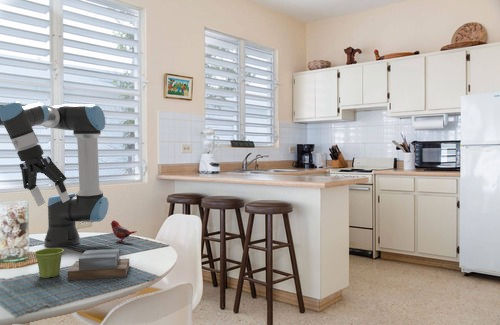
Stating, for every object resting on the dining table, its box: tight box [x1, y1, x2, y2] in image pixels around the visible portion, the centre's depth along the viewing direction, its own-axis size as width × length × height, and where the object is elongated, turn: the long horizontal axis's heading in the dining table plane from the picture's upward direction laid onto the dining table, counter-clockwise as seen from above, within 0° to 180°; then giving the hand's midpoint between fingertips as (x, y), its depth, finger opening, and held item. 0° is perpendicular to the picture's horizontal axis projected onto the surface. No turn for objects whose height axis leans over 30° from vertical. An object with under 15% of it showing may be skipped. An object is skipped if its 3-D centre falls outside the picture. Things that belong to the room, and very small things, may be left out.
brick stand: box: [67, 248, 130, 281], centre depth 147 cm, size 13×19×7 cm
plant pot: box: [33, 247, 65, 279], centre depth 143 cm, size 9×9×9 cm
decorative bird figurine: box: [110, 220, 138, 243], centre depth 194 cm, size 3×18×10 cm, turn 59°
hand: (53, 202), depth 145 cm, fingers open, 13 cm apart
